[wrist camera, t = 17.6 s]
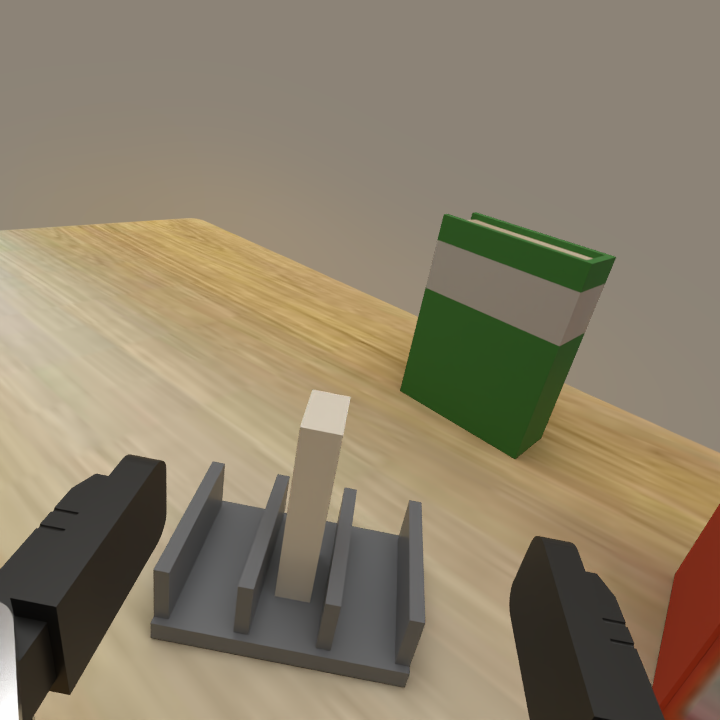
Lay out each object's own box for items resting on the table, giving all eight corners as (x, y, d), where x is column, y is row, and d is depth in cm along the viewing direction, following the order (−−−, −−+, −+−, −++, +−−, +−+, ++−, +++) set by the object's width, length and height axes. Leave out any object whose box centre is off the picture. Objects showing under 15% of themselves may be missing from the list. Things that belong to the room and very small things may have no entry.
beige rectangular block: (287, 548, 41) (312, 389, 35) (319, 554, 41) (350, 396, 35) (274, 596, 37) (300, 427, 31) (309, 602, 37) (343, 435, 31)
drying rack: (211, 511, 45) (214, 457, 43) (405, 549, 45) (421, 498, 43) (150, 637, 35) (149, 576, 32) (404, 687, 35) (425, 630, 32)
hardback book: (400, 390, 70) (443, 214, 60) (430, 376, 76) (476, 212, 65) (514, 459, 61) (592, 263, 50) (541, 437, 66) (616, 257, 55)
